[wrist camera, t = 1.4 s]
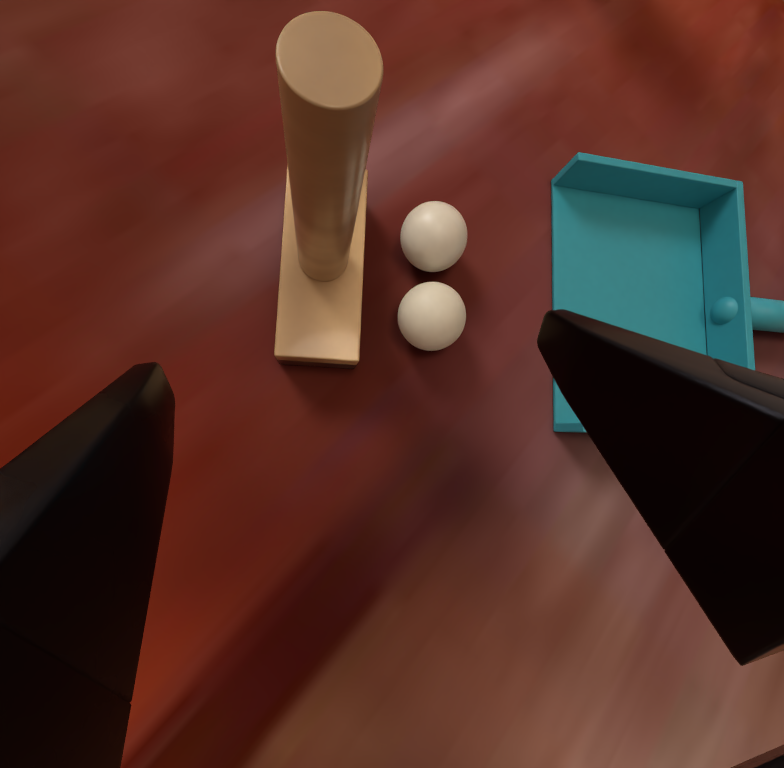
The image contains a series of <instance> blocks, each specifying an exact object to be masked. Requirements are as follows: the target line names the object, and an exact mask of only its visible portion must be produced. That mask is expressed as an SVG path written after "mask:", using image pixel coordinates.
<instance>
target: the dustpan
mask: <svg viewBox="0 0 784 768" xmlns="http://www.w3.org/2000/svg"><path fill="white" fill-rule="evenodd" d="M551 198H552V308H553V310H558V309H565V310H568V311H571V312H574V313H578V314H581V315H584V316H587V317H590V318H593V319H596V320H599V321H602V322H605V323H608V324H612V325H615V326H618V327H621V328H624V329H627V330H630V331H633V332H636V333H639V334H643V335H646V336H649V337H652V338H655V339H658V340H661V341H664V342H667V343H670V344H673V345H677V346H680V347H683V348H686V349H689V350H692V351H695V352H698V353H701V354H704V355H707V356H711V357H712V358H713V359H714V358H717V359H720V360H723V361H726V362H729V363H732V364H736V365H739V366H742V367H745V368H748V369H752V370H755V360H754V345H753V330H761V331H771V332H781V333H784V301H781V300H772V299H764V298H755V297H750V285H749V270H748V255H747V240H746V225H745V210H744V195H743V182H741V181H736V180H730V179H725V178H719V177H714V176H708V175H702V174H697V173H691V172H686V171H680V170H675V169H669V168H664V167H658V166H653V165H647V164H641V163H636V162H630V161H625V160H619V159H614V158H608V157H603V156H597V155H592V154H586V153H580V152H578V153H577V154H576V155H575V156H574V157H573V158H572V159H571V160H570V162H569V163H568V164H567V165H566V166H565V167H564V168H563V169H562V170H561V171H560V172H559V173H558V174H557V175H556V176H555V177H554V178H553V179H552V180H551ZM699 208H700V219H699ZM700 225H701V238H700ZM701 244H702V257H701ZM702 263H703V276H702ZM703 281H704V295H703ZM704 300H705V313H704ZM705 319H706V332H705ZM706 338H707V351H706ZM553 418H554V432H577V433H587V432H586V430H585V429H584V427H583V426H582V424H581V423H580V421H579V419H578V418H577V416H576V415H575V413H574V412H573V410H572V409H571V407H570V406H569V404H568V403H567V401H566V399H565V398H564V396H563V395H562V393H561V391H560V389H559V387H558V386H557V384H556V382H555V380H554V378H553Z"/></svg>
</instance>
